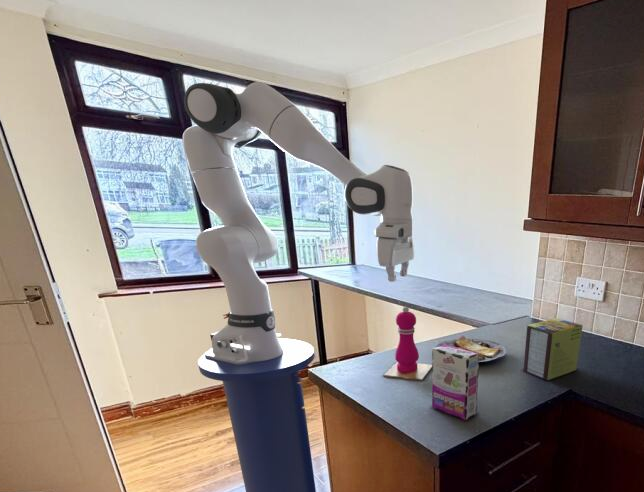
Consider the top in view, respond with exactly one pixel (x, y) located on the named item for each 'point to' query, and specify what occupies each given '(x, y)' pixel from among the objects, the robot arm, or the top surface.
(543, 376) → the protein box
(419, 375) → the coaster mat
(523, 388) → the top surface
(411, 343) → the pepper mill
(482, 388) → the top surface
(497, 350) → the food plate
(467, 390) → the candy bar box
